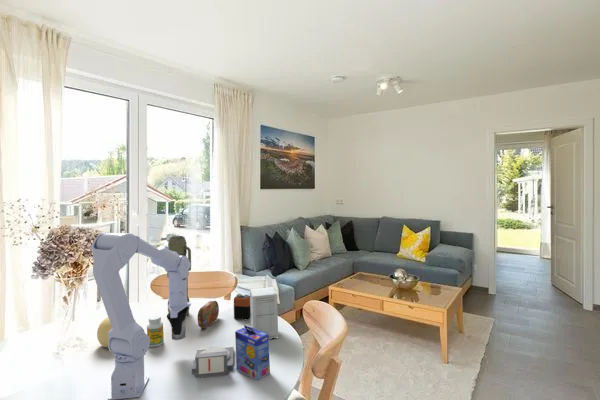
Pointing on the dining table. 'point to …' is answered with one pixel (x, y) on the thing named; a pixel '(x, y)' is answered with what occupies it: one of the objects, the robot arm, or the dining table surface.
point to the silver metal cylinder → (183, 332)
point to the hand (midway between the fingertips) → (178, 331)
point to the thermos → (181, 248)
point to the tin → (208, 314)
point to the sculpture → (104, 332)
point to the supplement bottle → (155, 331)
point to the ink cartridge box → (252, 352)
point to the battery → (242, 307)
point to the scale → (213, 362)
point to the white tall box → (264, 311)
